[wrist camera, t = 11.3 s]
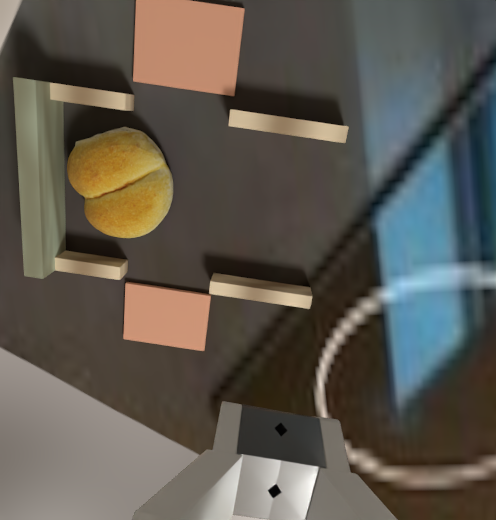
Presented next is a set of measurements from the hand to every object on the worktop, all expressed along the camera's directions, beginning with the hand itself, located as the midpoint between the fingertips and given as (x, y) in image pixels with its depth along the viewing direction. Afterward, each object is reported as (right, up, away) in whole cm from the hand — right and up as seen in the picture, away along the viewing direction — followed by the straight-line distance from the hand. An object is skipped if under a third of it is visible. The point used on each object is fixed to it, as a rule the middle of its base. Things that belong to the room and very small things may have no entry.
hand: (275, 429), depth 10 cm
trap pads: (-6, +10, +24) cm, 27 cm away
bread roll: (-11, +11, +25) cm, 29 cm away
